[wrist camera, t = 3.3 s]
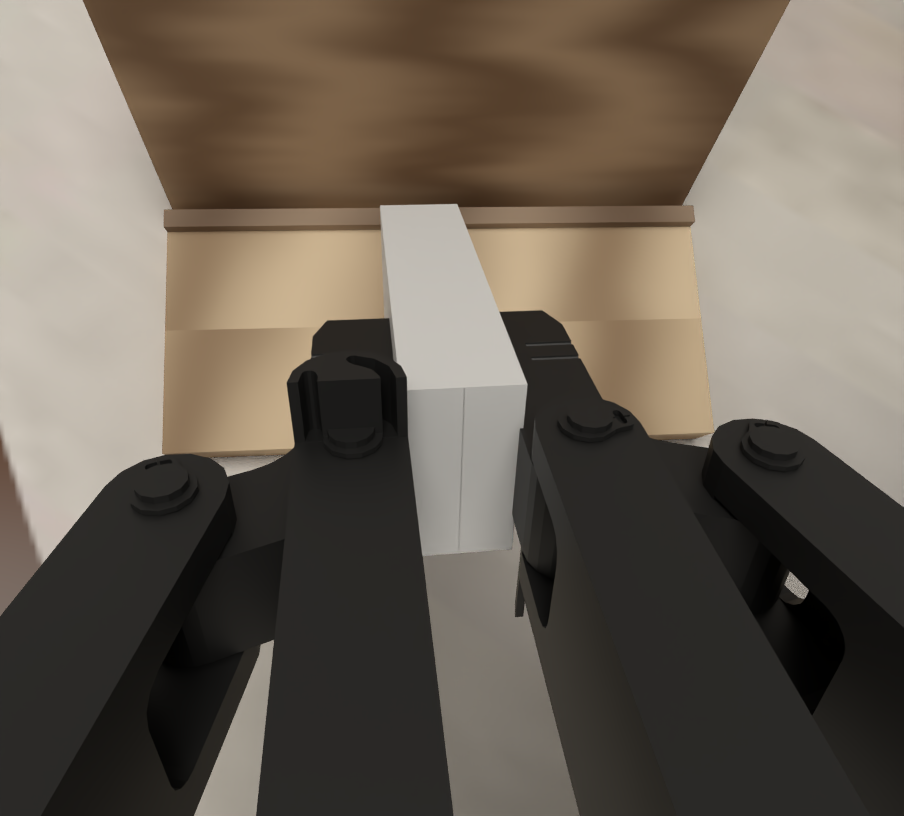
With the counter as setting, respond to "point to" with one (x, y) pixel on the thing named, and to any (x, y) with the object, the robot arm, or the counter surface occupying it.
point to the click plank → (431, 97)
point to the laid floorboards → (361, 297)
